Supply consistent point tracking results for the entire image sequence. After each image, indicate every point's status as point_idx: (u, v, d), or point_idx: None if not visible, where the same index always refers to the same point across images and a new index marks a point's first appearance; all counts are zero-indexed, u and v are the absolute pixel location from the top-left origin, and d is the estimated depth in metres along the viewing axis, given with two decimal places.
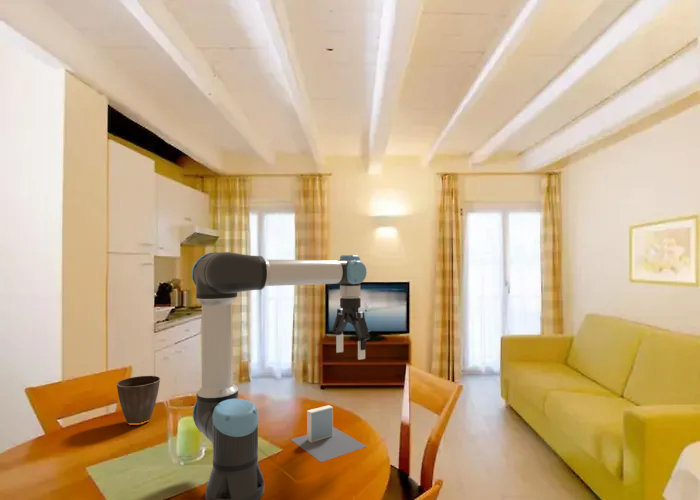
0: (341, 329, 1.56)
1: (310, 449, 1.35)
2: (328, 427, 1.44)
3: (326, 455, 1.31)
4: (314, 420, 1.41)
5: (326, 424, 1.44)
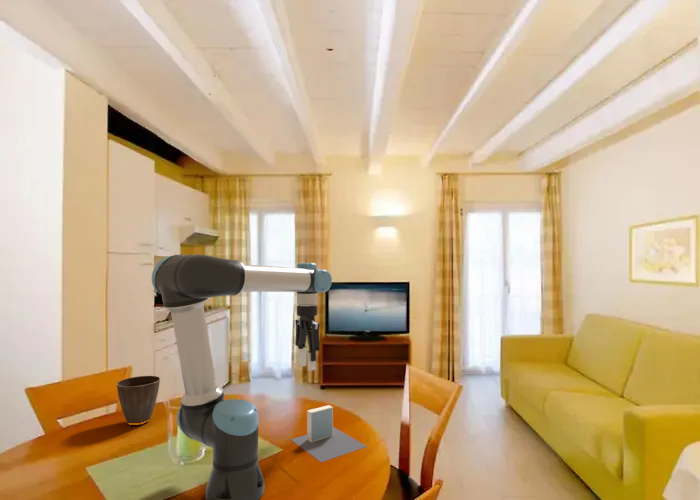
0: (303, 341, 1.54)
1: (310, 449, 1.35)
2: (328, 427, 1.44)
3: (326, 455, 1.31)
4: (314, 420, 1.41)
5: (326, 424, 1.44)
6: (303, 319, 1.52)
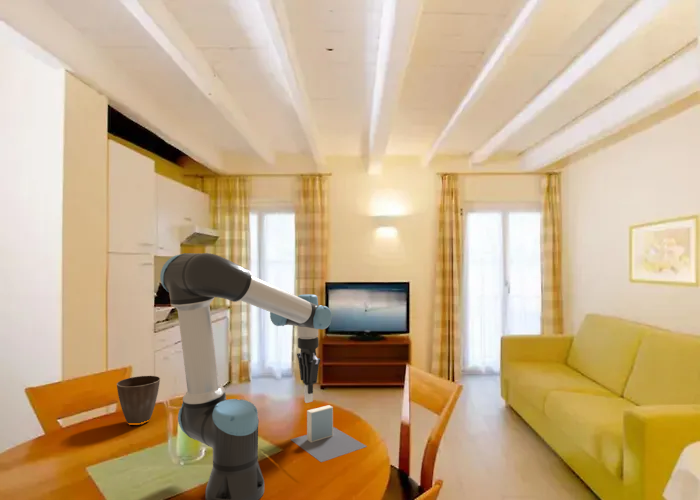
0: (307, 374, 1.52)
1: (310, 449, 1.35)
2: (328, 427, 1.44)
3: (326, 455, 1.31)
4: (314, 420, 1.41)
5: (326, 424, 1.44)
6: (304, 349, 1.52)
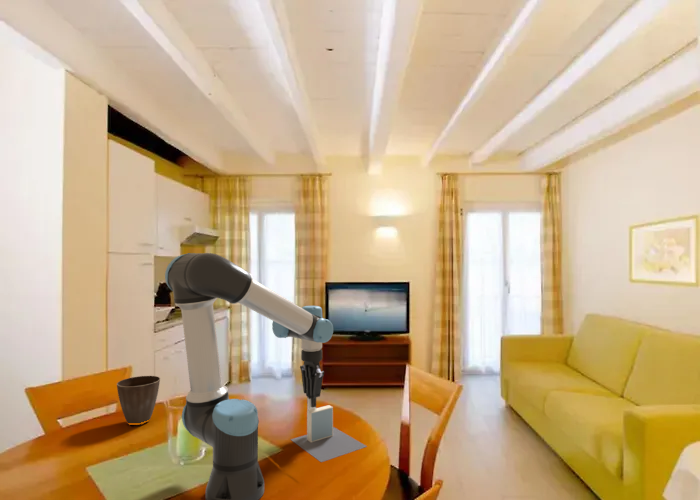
0: None
1: (310, 449, 1.35)
2: (328, 427, 1.44)
3: (326, 455, 1.31)
4: (314, 420, 1.41)
5: (326, 424, 1.44)
6: (307, 362, 1.49)
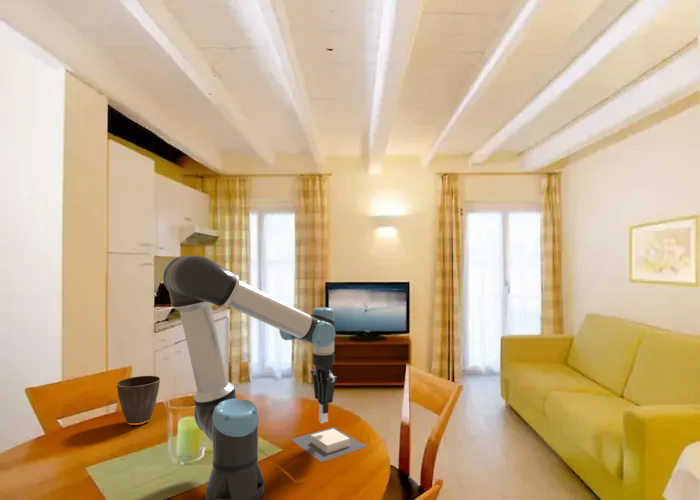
0: (322, 393, 1.43)
1: (310, 449, 1.35)
2: None
3: (326, 455, 1.31)
4: None
5: None
6: (319, 366, 1.43)
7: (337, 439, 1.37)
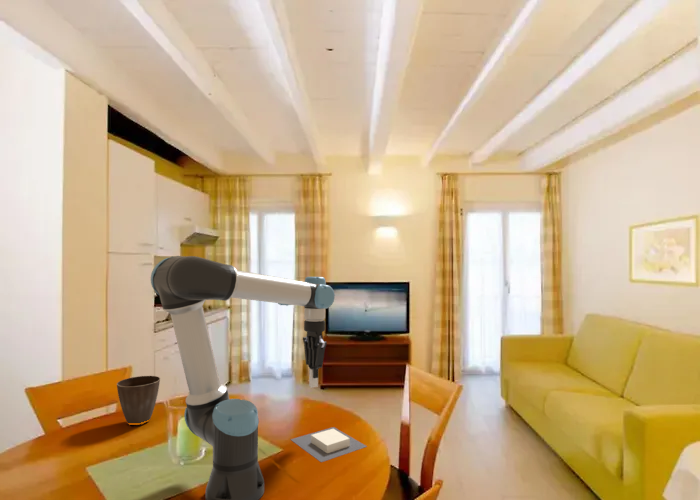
0: None
1: (310, 449, 1.35)
2: None
3: (326, 455, 1.31)
4: None
5: None
6: (310, 332, 1.48)
7: (337, 439, 1.37)
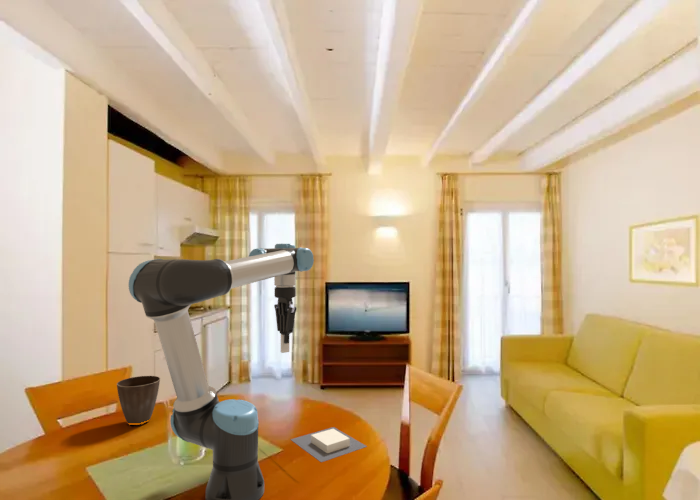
0: None
1: (310, 449, 1.35)
2: None
3: (326, 455, 1.31)
4: None
5: None
6: (281, 299, 1.49)
7: (337, 439, 1.37)
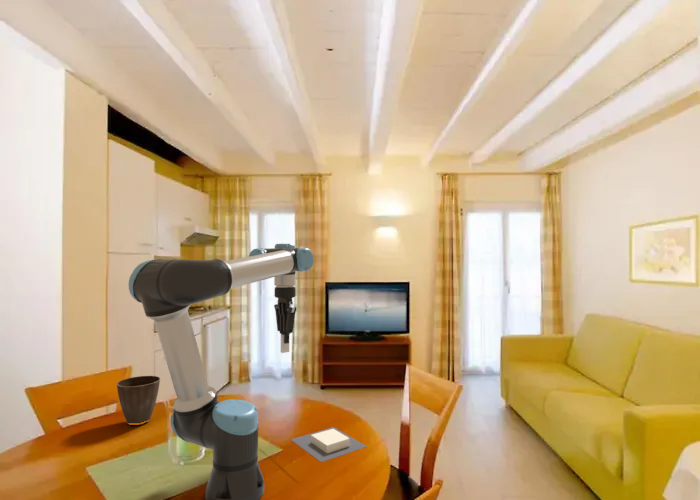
0: None
1: (310, 449, 1.35)
2: None
3: (326, 455, 1.31)
4: None
5: None
6: (281, 299, 1.49)
7: (337, 439, 1.37)
